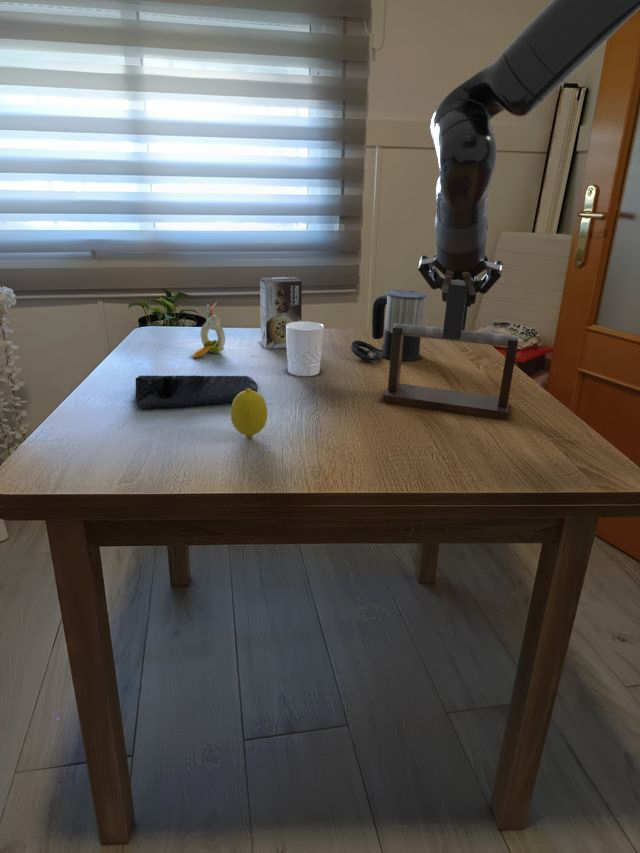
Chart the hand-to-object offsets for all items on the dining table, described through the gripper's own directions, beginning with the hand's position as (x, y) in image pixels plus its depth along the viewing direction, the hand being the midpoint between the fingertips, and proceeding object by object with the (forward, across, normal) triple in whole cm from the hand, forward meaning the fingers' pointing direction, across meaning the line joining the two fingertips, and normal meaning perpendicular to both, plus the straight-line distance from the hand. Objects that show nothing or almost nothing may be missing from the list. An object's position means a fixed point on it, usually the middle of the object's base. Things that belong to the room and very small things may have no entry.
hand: (459, 301), depth 101 cm
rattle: (+20, -57, -7) cm, 61 cm away
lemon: (-8, -26, -35) cm, 44 cm away
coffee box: (+31, -44, +4) cm, 54 cm away
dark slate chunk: (+2, -43, -25) cm, 50 cm away
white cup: (+17, -31, -9) cm, 37 cm away
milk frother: (+31, -17, +4) cm, 36 cm away
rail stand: (+12, 0, -14) cm, 19 cm away
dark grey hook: (+2, 0, -5) cm, 6 cm away
